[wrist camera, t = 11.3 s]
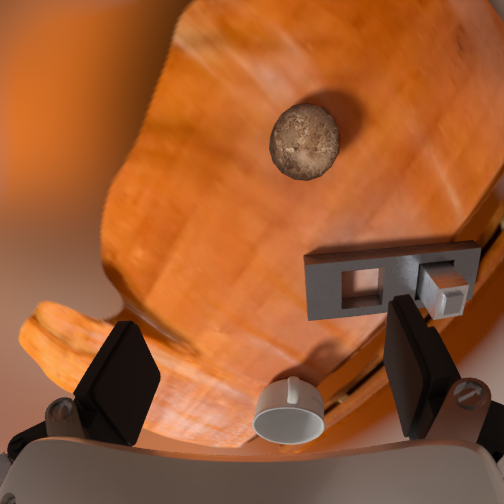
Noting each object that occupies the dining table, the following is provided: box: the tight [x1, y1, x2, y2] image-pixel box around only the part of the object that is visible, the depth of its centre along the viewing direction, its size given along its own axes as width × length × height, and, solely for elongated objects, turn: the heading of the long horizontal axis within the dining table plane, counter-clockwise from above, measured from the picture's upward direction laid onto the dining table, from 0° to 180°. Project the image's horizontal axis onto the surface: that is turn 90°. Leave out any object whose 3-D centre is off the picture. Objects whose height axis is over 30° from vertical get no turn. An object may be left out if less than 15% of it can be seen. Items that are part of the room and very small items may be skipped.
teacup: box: [252, 376, 325, 444], centre depth 45 cm, size 14×11×8 cm
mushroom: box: [269, 103, 340, 181], centre depth 32 cm, size 8×8×6 cm
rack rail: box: [304, 240, 481, 321], centre depth 38 cm, size 24×8×2 cm, turn 98°
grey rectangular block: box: [416, 261, 469, 320], centre depth 35 cm, size 4×4×9 cm
